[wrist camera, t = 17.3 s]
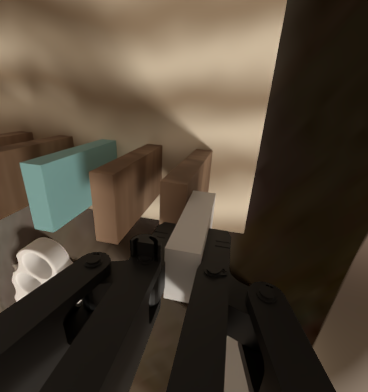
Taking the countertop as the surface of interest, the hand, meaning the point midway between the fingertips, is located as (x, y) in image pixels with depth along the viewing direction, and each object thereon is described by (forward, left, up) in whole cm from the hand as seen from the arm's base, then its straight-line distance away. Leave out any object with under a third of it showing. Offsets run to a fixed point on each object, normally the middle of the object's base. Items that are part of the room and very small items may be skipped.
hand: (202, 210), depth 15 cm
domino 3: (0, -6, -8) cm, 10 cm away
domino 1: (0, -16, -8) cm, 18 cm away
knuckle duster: (+22, -22, -10) cm, 33 cm away
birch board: (-7, -11, -9) cm, 16 cm away
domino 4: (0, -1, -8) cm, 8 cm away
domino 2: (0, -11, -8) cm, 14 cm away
